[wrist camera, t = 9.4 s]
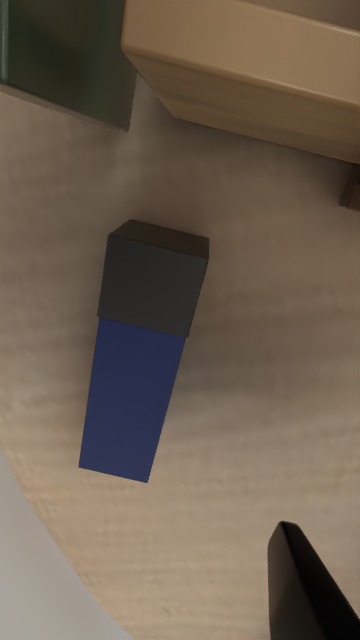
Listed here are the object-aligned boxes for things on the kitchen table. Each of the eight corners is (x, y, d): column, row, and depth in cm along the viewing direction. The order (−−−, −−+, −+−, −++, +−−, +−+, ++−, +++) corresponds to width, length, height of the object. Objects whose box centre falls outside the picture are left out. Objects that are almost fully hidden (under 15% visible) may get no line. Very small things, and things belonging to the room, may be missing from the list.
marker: (158, 433, 17) (148, 486, 14) (98, 419, 17) (75, 469, 14) (209, 238, 13) (209, 258, 10) (130, 218, 13) (107, 233, 10)
